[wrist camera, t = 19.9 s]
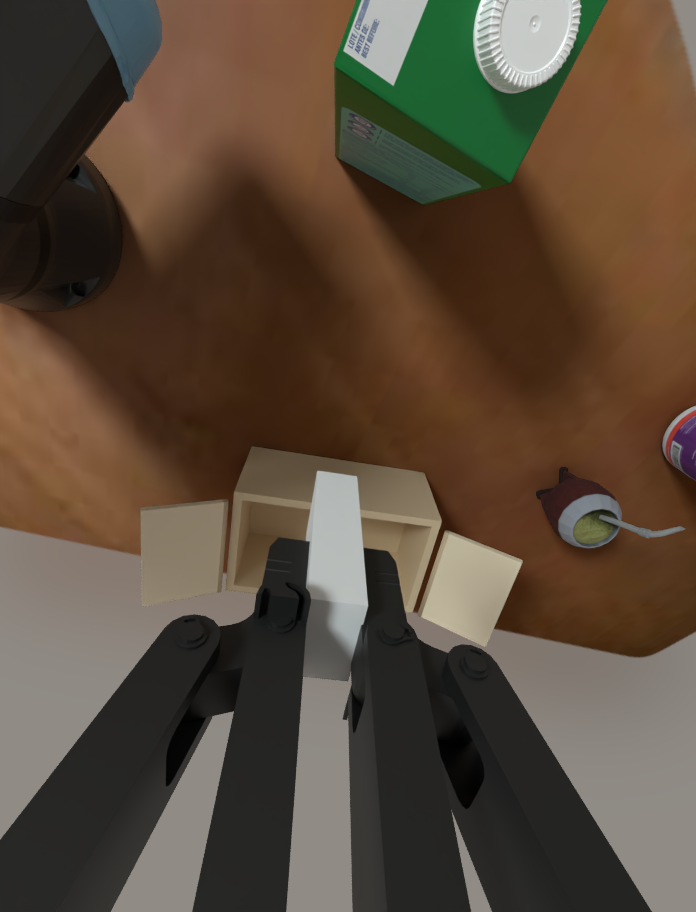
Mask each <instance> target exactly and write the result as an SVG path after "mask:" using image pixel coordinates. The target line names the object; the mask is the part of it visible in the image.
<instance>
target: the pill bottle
mask: <svg viewBox="0 0 696 912" xmlns="http://www.w3.org/2000/svg"><path fill="white" fill-rule="evenodd" d="M662 448H663V452H664V455H665V457H666V459H667V460H668V461H669V462H670V463H671V464H672V465H673V466H675V467H676V468H678V469H679V470H680V471H682V472H683V473H685V474H686V475H688V476H689V477H691V478H692V479H693V480H695V481H696V406H694V407H691V408H689V409H687V410H686V411H684V412H683V413H681V414H680V415H679V416H677V417H676V418H675V419H674V420H673V421H672V423H671V424H670V425H669V427H668V428H667V430H666V432H665V434H664V437H663V442H662Z"/></svg>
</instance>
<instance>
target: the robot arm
mask: <svg viewBox="0 0 696 912" xmlns="http://www.w3.org/2000/svg"><path fill="white" fill-rule="evenodd" d="M161 40H162V24H161V18H160V15H159V10H158V7H157V4H156V2H155V0H0V303H3V304H6V305H10V306H14V307H18V308H22V309H26V310H31V311H40V312H53V311H61V310H66V309H69V308H73V307H76V306H79V305H82V304H85V303H87V302H89V301H91V300H92V299H94V298H95V297H97V296H98V295H99V294H101V293H102V292H103V291H104V290H105V289H106V287H107V286H108V285H109V284H110V282H111V281H112V279H113V277H114V275H115V273H116V271H117V268H118V265H119V262H120V258H121V252H122V229H121V223H120V218H119V214H118V210H117V207H116V204H115V201H114V199H113V196H112V194H111V192H110V190H109V188H108V186H107V184H106V182H105V181H104V179H103V178H102V176H101V174H100V173H99V172H98V170H97V169H96V168H95V166H94V165H93V164H92V163H91V161H90V160H89V159H88V158H87V157H86V156H85V155H84V154H85V153H86V151H87V150H88V149H89V147H90V146H91V145H92V143H93V142H94V141H95V140H96V138H97V137H98V136H99V134H100V133H101V132H102V130H103V129H104V128H105V126H106V125H107V124H108V122H109V121H110V120H111V118H112V117H113V116H114V114H115V113H116V112H117V110H118V109H119V108H120V106H121V105H122V104H123V102H124V101H125V102H130V101H131V100H132V98H133V94H134V87H135V86H136V84H137V83H138V81H139V80H140V78H141V77H142V75H143V74H144V72H145V71H146V69H147V68H148V66H149V65H150V63H151V62H152V60H153V59H154V57H155V56H156V54H157V52H158V50H159V48H160V45H161ZM350 672H351V677H352V678H351V679H352V686H351V689H350V693H349V697H348V700H347V704H346V707H345V711H344V716H343V719H344V720H347V718H348V721H349V765H350V808H351V809H350V812H351V852H352V853H351V855H352V902H353V912H471V909H470V904H469V899H468V894H467V889H466V883H465V878H464V873H463V868H462V863H461V858H460V853H459V848H458V843H457V837H456V832H455V827H454V822H453V817H452V812H453V815H454V817H455V819H456V822H457V825H458V827H459V829H460V832H461V835H462V837H463V840H464V842H465V845H466V847H467V850H468V852H469V855H470V857H471V860H472V862H473V865H474V867H475V870H476V872H477V875H478V877H479V880H480V882H481V884H482V887H483V890H484V892H485V895H486V897H487V900H488V902H489V905H490V907H491V910H492V912H652V911H651V910H650V908H649V907H648V905H647V903H646V902H645V900H644V899H643V897H642V895H641V894H640V892H639V891H638V889H637V888H636V886H635V884H634V883H633V881H632V879H631V878H630V876H629V874H628V873H627V871H626V870H625V868H624V867H623V865H622V863H621V862H620V860H619V859H618V857H617V855H616V854H615V852H614V851H613V849H612V847H611V846H610V844H609V842H608V841H607V839H606V838H605V836H604V835H603V833H602V831H601V830H600V828H599V826H598V825H597V823H596V822H595V820H594V818H593V817H592V815H591V814H590V812H589V810H588V809H587V807H586V806H585V804H584V802H583V801H582V799H581V798H580V796H579V794H578V793H577V791H576V790H575V788H574V786H573V785H572V783H571V781H570V780H569V778H568V777H567V775H566V774H565V772H564V770H563V769H562V767H561V765H560V764H559V762H558V761H557V759H556V757H555V756H554V754H553V753H552V751H551V750H550V748H549V746H548V745H547V743H546V741H545V740H544V738H543V737H542V735H541V734H540V732H539V730H538V729H537V727H536V725H535V724H534V723H533V721H532V719H531V717H530V716H529V714H528V713H527V711H526V709H525V708H524V706H523V705H522V703H521V701H520V700H519V698H518V696H517V695H516V693H515V692H514V690H513V689H512V687H511V685H510V684H509V682H508V681H507V679H506V677H505V676H504V674H503V672H502V671H501V669H500V668H499V666H498V664H497V663H496V662H495V661H494V660H493V658H492V657H491V656H490V655H489V654H487V653H486V652H484V651H483V650H482V649H480V648H477V647H474V646H472V645H458V646H455V647H453V649H451V651H450V652H449V653H446V652H444V651H441V650H438V649H436V648H434V647H431V646H429V645H427V644H425V643H424V642H422V641H421V640H419V639H418V638H417V635H416V633H415V631H414V629H413V628H412V627H411V626H410V625H409V624H408V623H407V619H406V614H405V608H404V603H403V597H402V592H401V586H400V580H399V576H398V569H397V564H396V561H395V560H394V558H393V557H392V556H391V554H390V553H389V552H388V551H385V550H378V549H370V548H363V540H362V528H361V516H360V504H359V492H358V481H357V476H351V475H344V474H337V473H331V472H324V471H317V475H316V480H315V486H314V492H313V498H312V503H311V509H310V515H309V521H308V526H307V533H306V541H303V540H295V539H288V538H280V537H278V538H277V539H276V540H275V542H274V543H273V544H272V545H271V546H270V548H269V553H268V558H267V562H266V567H265V572H264V577H263V582H262V585H261V586H260V588H259V590H258V592H257V595H256V602H255V610H254V613H253V614H252V615H251V616H250V617H248V618H247V619H246V620H244V621H242V622H239V623H236V624H232V625H227V626H220V627H219V626H218V625H217V624H216V623H215V621H214V620H212V619H210V618H208V617H206V616H201V615H188V616H182V617H180V618H178V619H176V620H173V621H172V622H171V623H170V624H169V625H167V626H166V627H165V628H164V630H163V631H162V632H161V633H160V635H159V636H158V637H157V639H156V640H155V641H154V643H153V644H152V645H151V646H150V648H149V649H148V650H147V652H146V653H145V654H144V655H143V657H142V658H141V659H140V661H139V662H138V663H137V665H136V666H135V667H134V668H133V670H132V671H131V672H130V673H129V675H128V676H127V677H126V679H125V680H124V681H123V682H122V684H121V685H120V687H119V688H118V689H117V690H116V691H115V693H114V694H113V695H112V697H111V698H110V699H109V700H108V702H107V703H106V704H105V706H104V707H103V708H102V710H101V711H100V712H99V713H98V715H97V716H96V717H95V718H94V720H93V721H92V722H91V724H90V725H89V726H88V728H87V729H86V730H85V731H84V733H83V734H82V735H81V737H80V738H79V739H78V740H77V742H76V743H75V744H74V746H73V747H72V748H71V749H70V751H69V752H68V753H67V755H66V756H65V757H64V758H63V760H62V761H61V762H60V764H59V765H58V766H57V768H56V769H55V770H54V771H53V773H52V774H51V775H50V776H49V778H48V779H47V780H46V782H45V783H44V784H43V785H42V787H41V788H40V789H39V791H38V792H37V793H36V795H35V796H34V797H33V798H32V800H31V801H30V802H29V804H28V805H27V806H26V807H25V809H24V810H23V811H22V813H21V814H20V815H19V816H18V818H17V819H16V820H15V822H14V823H13V824H12V825H11V827H10V828H9V830H8V831H7V832H6V833H5V834H4V836H3V837H2V838H1V840H0V912H111V910H112V908H113V906H114V904H115V902H116V900H117V898H118V896H119V895H120V893H121V891H122V889H123V887H124V885H125V883H126V881H127V879H128V877H129V875H130V873H131V871H132V870H133V868H134V866H135V864H136V862H137V860H138V858H139V856H140V854H141V853H142V851H143V849H144V847H145V845H146V843H147V841H148V839H149V837H150V835H151V833H152V832H153V830H154V828H155V826H156V824H157V822H158V820H159V818H160V816H161V814H162V813H163V811H164V809H165V807H166V805H167V803H168V801H169V799H170V797H171V795H172V793H173V792H174V790H175V788H176V786H177V784H178V782H179V780H180V778H181V776H182V774H183V772H184V771H185V769H186V767H187V765H188V763H189V761H190V759H191V757H192V755H193V753H194V752H195V750H196V748H197V746H198V744H199V742H200V740H201V738H202V736H203V734H204V732H205V730H206V729H207V727H208V725H209V723H210V721H211V719H212V716H214V715H219V714H223V713H228V712H232V711H234V714H233V719H232V724H231V729H230V733H229V739H228V743H227V748H226V752H225V757H224V763H223V767H222V772H221V777H220V781H219V786H218V791H217V796H216V801H215V805H214V811H213V815H212V820H211V825H210V829H209V834H208V839H207V844H206V849H205V854H204V858H203V864H202V868H201V873H200V878H199V882H198V887H197V892H196V897H195V901H194V906H193V912H286V904H287V891H288V877H289V863H290V849H291V835H292V820H293V807H294V793H295V779H296V764H297V750H298V736H299V723H300V707H301V695H302V694H301V693H302V681H303V680H302V679H303V677H312V678H322V679H331V680H341V681H348V679H349V676H350ZM451 810H452V812H451Z"/></svg>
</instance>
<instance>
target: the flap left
mask: <svg viewBox="0 0 696 912" xmlns="http://www.w3.org/2000/svg"><path fill="white" fill-rule="evenodd" d="M228 503H229V500H228V499H222V500H212V501H202V502H192V503H182V504H172V505H162V506H152V507H142V508H140V511H141V571H142V572H141V575H142V577H141V578H142V607H145V606H150V605H155V604H160V603H165V602H170V601H176V600H181V599H186V598H191V597H196V596H201V595H206V594H211V593H217V592H221V588H222V576H223V564H224V552H225V540H226V527H227V515H228Z"/></svg>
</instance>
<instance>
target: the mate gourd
mask: <svg viewBox="0 0 696 912" xmlns="http://www.w3.org/2000/svg"><path fill="white" fill-rule="evenodd" d="M536 496H537V498H541V502H542V506H543V509H544V510H545V512H546V515H547V518H548V520H549V522H550V524H551V526H552V528H553V529H554V531H555V533H556V534H557V535H558V536H560V537H561V538H562V539H563V540H565V541H566V542H568V543H569V544H571V545H573V546H577V547H582V548H595V547H600V546H602V545H604V544H606V543H608V542H609V541H611V540H612V539H613V538H614V537H615V536H616V535H617V533H618V531H619V529H620V527H622V528H625V529H628V530H630V531H633V532H635V533H637V534H639V536H642V537H646V538H651V537H661V536H666V535H669V534H672V533H676V532H679V531H682V530H685V528H683V527H681V526H679V527H675V528H670V529H666V530H662V531H651V530H649V529H645V528H638V527H636V526H633V525H630V524H628V523H625V522H622V521H621V518H622V511H621V509H620V507H619V504H618V502H617V501H616V499H615V497H614V496H613V495H612V494H611V493H610V492H609V491H607V490H606V489H605V488H603V487H602V486H600V485H599V484H598V483H595V482H593V481H589V480H585V479H580V478H577V477H576V476H574V475H572V474H570V473H568V468H566V467H561V468H560V470H559V484H558V485H557V486H556V487H555V488H552V489H546V490H540V491H537V492H536Z"/></svg>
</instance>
